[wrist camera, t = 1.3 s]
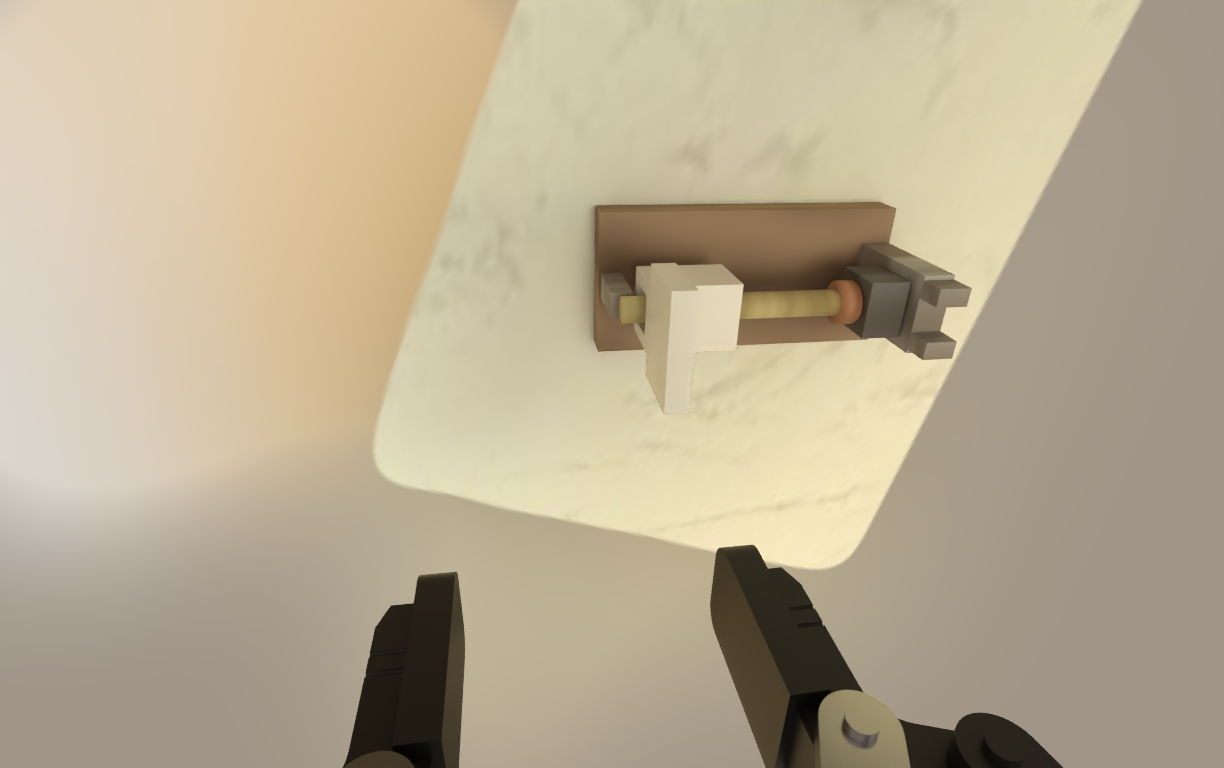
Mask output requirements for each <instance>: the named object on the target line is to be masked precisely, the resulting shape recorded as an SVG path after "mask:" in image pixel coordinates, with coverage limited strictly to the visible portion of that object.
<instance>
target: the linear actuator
mask: <svg viewBox="0 0 1224 768" xmlns="http://www.w3.org/2000/svg"><path fill="white" fill-rule="evenodd" d="M895 212H896V208H894V207H891V206H888V205H886V204H883V203H789V204H699V205H609V206H595V309H594V341H595V344H596V347H597V350H598V351H621V350H643V349H644V348H643V346H642V344H641V342H640V340H639V338H638V336H637V334H636V332H635V330H634V323H645V316H646V295H643V296H635V285H636V266H651V263H676V264H677V265H708V264H722V265H723V266H724V267H725V268H726V269H727V270H729V271H730V272H731V273H732V274H733V275H734V276H735V277H736V278H737V279H738V280H739V281H740V282H742V283H743V284H744V286H743V294H742V303H741V311H740V320H739V328H738V337H737V345H754V344H776V343H799V342H821V341H843V340H865V339H868V338H886V339H888V340H889V341H890V342H892V343H893V344H895V345H896V346H897V347H899V348H900V349H901V350H903V351H904V352H906V353H914V354H915V355H916V356H918V357H919V358H921V359H922V360H931V359H951V358H952V356H953V353H954V349H955V346H956V342H957V341H955V340H953V339H952V338H950V337H948V336H947V335H945V334H944V333H942V332H940V329H941V325H942V321H943V318H944V314H945V310H946V307H967V303H968V300H969V296H970V293H971V289H972V288H970V287H968V286H966V285H964V284H962V283H960V282H958V281H956V280H954V277H955V275H954V274H952V273H950V272H947V271H945V270H943V269H941V268H939V267H937V266H935V265H933V264H931V263H929V262H926V261H924V260H922V259H920V258H918V257H916V256H914V255H912V254H910V253H908V252H906V251H903V250H901V249H899V248H897V247H895V246H893V245H891V244H889V240H890V235H891V230H892V226H893V221H894V217H895Z"/></svg>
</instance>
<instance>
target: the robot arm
mask: <svg viewBox="0 0 1224 768" xmlns="http://www.w3.org/2000/svg"><path fill="white" fill-rule="evenodd" d="M710 607H711V617H712V623H713V628H714V631H715V634H716V636H717V639H718V642H719V645H720V647H721V650H722V652H723V655H724V658H725V660H726V663H727V666H728V668H729V671H730V673H731V676H732V679H733V682H734V684H735V687H736V690H737V692H738V695H739V698H740V700H741V703H742V705H743V708H744V711H745V714H746V716H747V718H748V722H749V724H750V727H751V729H752V732H753V734H754V737H755V740H756V743H757V745H758V748H759V750H760V753H761V756H762V759H763V761H764V764H765V767H766V768H1063V767H1062V766H1061V765H1060V764H1059V763H1058V762H1057V761H1056V760H1055V759H1054V758H1053V757H1052V756H1051V755H1050V754H1049V753H1048V752H1047V751H1046V750H1045V749H1044V748H1043V747H1042V746H1041V745H1040V744H1039V743H1038V742H1037V741H1036V740H1034V738H1033V737H1032V736H1030V735H1029V734H1028V733H1027V732H1026V731H1025V730H1023V729H1022V728H1020V727H1019V726H1017V725H1016V724H1014V723H1013V722H1011V721H1009V720H1007V719H1004V718H1002V717H999V716H996V715H993V714H988V713H972V714H969V715H966V716H964V717H963V718H962V719H961V720H960V721H959V722H958V724H957V726H956V728H955V730H954V731H953V730H947V729H941V728H935V727H931V726H925V725H919V724H914V723H910V722H906V721H903V720H900V719H897V717H896V715H895V714H894V713H893V712H892V711H891V710H890V709H889V708H888V707H887V706H886V705H885V704H883V703H882V702H881V701H879V700H878V699H876V698H874V697H872V696H870V695H868V694H866V693H864V692H863V691H862V689H861V688H860V686H859V685H858V683H857V681H856V679H855V678H854V676H853V674H852V672H851V671H850V669H849V667H848V666H847V664H846V662H845V660H844V658H843V657H842V655H841V653H840V652H839V650H838V648H837V647H836V644H835V643H834V641H833V640H832V638H831V636H830V634H829V632H828V631H827V629H826V627H825V626H823V624H822V620H821V618H820V617H819V615H818V613H817V611H816V610H815V609H813V604H812V603H811V601H810V599H809V597H808V596H807V594H806V592H805V591H804V589H803V587H802V585H801V584H800V583H799V582H798V581H797V580H795V579H794V578H793V577H792V576H791V575H789V574H788V573H787V572H786V571H785V570H784V569H783V568H781V567H780V568H771V569H768V568H767V567H766V564H765V563H764V561H763V559H762V557H761V555H760V553H759V551H758V549H757V548H756V547H755V546H754V545H745V546H734V547H723V548H719V549H718V550H717V553H716V559H715V567H714V576H713V584H712V593H711V602H710ZM464 662H465V636H464V624H463V615H462V606H461V598H460V590H459V581H458V574H457V572H450V573H439V574H428V575H420V576H419V577H418V580H417V586H416V593H415V600H414V603H413V604H403V605H393V606H390V608H389V609H388V611H387V612H386V613H385V615H384V616H383V618H382V619H381V621H380V622H379V623H378V625H377V626H376V628H375V632H374V636H373V641H372V646H371V650H370V657H369V660H368V664H367V669H366V677H365V678H364V683H363V687H362V692H361V697H360V701H359V706H358V711H357V715H356V720H355V725H354V729H353V734H352V739H351V743H350V748H349V752H348V756H347V759H346V762H345V764H344V766H343V768H459V752H460V734H461V716H462V698H463V681H464V680H463V679H464Z"/></svg>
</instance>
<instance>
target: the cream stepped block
mask: <svg viewBox="0 0 1224 768" xmlns="http://www.w3.org/2000/svg"><path fill="white" fill-rule="evenodd" d="M743 286H744V284H743V283H742V282H740V281H739V280H738V279H737V278H736V277H735V276H734V275H733V274H732V273H731V272H730V271H729V270H727V269H726V268H725V267H724V266H723V265H722V264H708V265H677V264H676V263H651V266H636V285H635V296H643V295H646V316H645V323H634V330H635V332H636V334H637V336H638V338H639V340H640V342H641V344H642V346H643V348H644V350H645V352H646V354H647V360H646V377H647V379H648V381H649V383H650V385H651V388H652V390H653V392H654V394H655V396H656V398H657V401H658V403H659V405H660V407H661V409H662V411H663V413H664V414H678V413H689V405H690V393H691V381H692V370H693V358H694V352H707V351H729V350H736V346H737V337H738V328H739V320H740V311H741V303H742V294H743Z"/></svg>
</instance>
